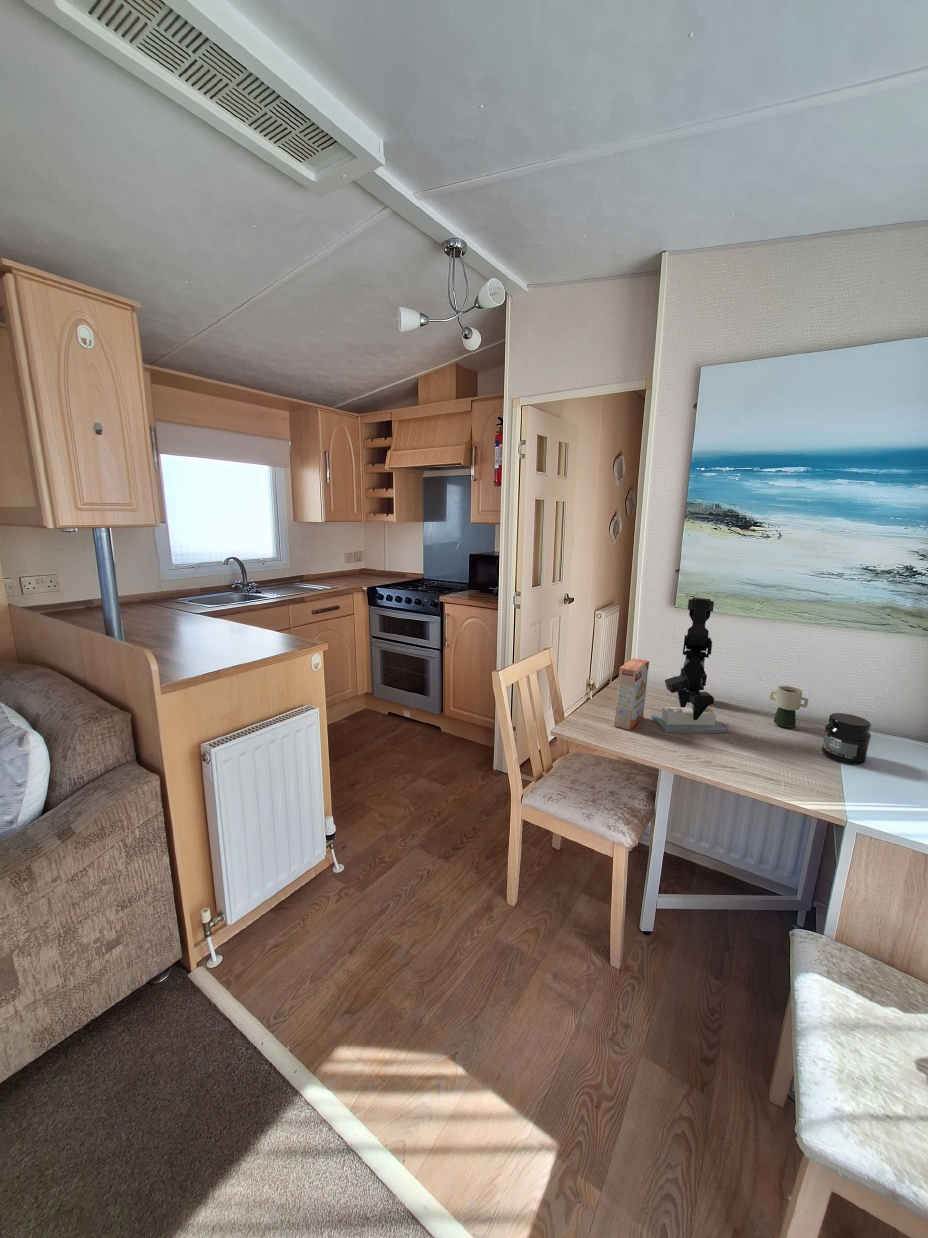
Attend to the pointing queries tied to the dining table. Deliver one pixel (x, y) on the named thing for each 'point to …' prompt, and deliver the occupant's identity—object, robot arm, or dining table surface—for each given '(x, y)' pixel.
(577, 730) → the dining table surface
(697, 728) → the stud board
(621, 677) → the cracker box
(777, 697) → the character mug
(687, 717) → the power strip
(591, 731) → the dining table surface
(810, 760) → the dining table surface
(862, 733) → the supplement container
